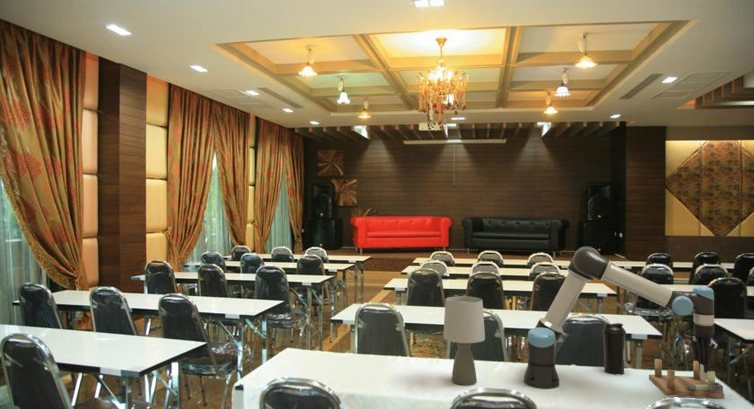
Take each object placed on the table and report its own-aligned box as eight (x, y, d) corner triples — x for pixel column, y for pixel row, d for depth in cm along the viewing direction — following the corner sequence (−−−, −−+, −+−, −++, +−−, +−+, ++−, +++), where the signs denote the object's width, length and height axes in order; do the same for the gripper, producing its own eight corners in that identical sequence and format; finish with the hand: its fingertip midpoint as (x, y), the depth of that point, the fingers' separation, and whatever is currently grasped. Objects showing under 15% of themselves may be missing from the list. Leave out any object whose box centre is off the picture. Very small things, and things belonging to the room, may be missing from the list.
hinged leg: (690, 390, 221) (689, 372, 221) (685, 388, 224) (685, 370, 224) (716, 390, 221) (716, 373, 221) (712, 388, 224) (712, 370, 224)
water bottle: (628, 375, 248) (628, 326, 248) (605, 374, 250) (604, 325, 250) (623, 369, 257) (622, 321, 258) (600, 368, 259) (600, 320, 260)
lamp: (435, 381, 239) (434, 299, 240) (458, 372, 253) (458, 294, 253) (470, 391, 227) (470, 304, 227) (493, 381, 240) (492, 299, 241)
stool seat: (665, 395, 222) (665, 372, 222) (649, 378, 243) (648, 357, 243) (724, 398, 218) (723, 375, 218) (701, 381, 239) (701, 360, 239)
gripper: (684, 321, 231) (684, 375, 231) (708, 327, 219) (709, 385, 219) (698, 320, 233) (699, 374, 233) (724, 326, 220) (724, 383, 220)
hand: (704, 379), depth 226 cm, fingers closed
